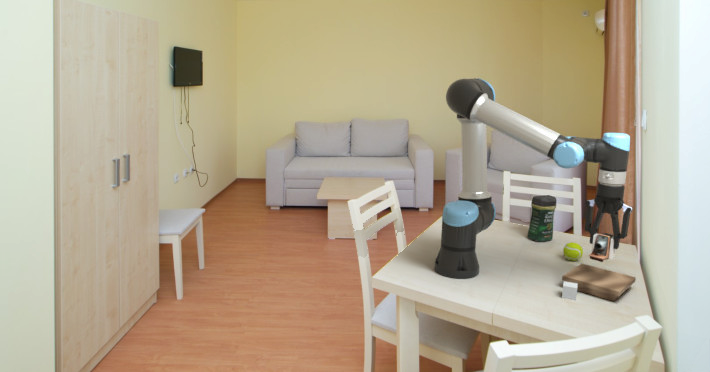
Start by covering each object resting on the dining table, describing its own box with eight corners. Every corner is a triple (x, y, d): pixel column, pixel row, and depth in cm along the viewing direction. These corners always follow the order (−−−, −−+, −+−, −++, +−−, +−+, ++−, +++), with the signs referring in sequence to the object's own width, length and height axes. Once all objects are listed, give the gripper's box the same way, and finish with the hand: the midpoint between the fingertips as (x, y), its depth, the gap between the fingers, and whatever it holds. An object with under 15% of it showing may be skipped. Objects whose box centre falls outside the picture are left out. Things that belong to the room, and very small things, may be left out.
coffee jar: (537, 243, 210) (542, 198, 206) (524, 237, 217) (528, 194, 213) (556, 240, 214) (561, 196, 210) (542, 235, 221) (546, 192, 217)
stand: (561, 287, 167) (562, 275, 166) (580, 274, 178) (581, 263, 177) (617, 304, 156) (619, 291, 155) (634, 289, 167) (635, 277, 166)
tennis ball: (564, 262, 189) (566, 245, 188) (560, 256, 196) (562, 239, 194) (583, 264, 188) (586, 246, 187) (579, 257, 195) (581, 240, 193)
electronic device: (588, 259, 162) (591, 235, 161) (600, 252, 169) (603, 230, 167) (602, 262, 159) (606, 239, 158) (614, 256, 166) (617, 233, 164)
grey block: (561, 298, 159) (563, 285, 159) (562, 293, 163) (563, 281, 162) (575, 300, 158) (577, 288, 157) (576, 295, 161) (577, 283, 161)
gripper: (577, 181, 163) (570, 252, 168) (638, 190, 151) (628, 266, 156) (586, 177, 168) (578, 246, 173) (646, 186, 156) (636, 260, 161)
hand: (602, 255), depth 164 cm, fingers closed on electronic device, 4 cm apart
